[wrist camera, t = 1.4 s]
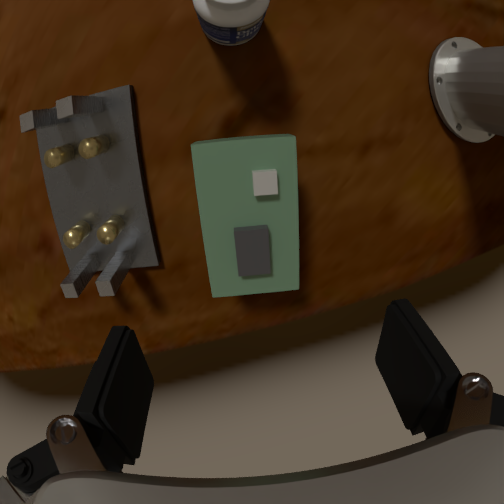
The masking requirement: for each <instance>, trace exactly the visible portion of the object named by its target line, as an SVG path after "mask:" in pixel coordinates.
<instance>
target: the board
mask: <svg viewBox="0 0 504 504" xmlns="http://www.w3.org/2000/svg"><path fill="white" fill-rule="evenodd" d="M191 151H192V159H193V167H194V176H195V183H196V191H197V199H198V206H199V213H200V220H201V227H202V234H203V241H204V247H205V254H206V260H207V266H208V273H209V279H210V285H211V291H212V296H213V297H225V296H236V295H248V294H258V293H269V292H279V291H289V290H298V289H299V216H298V180H297V154H296V136H294V135H291V134H275V135H259V136H246V137H234V138H224V139H214V140H205V141H197V142H194V143H193V144H192V145H191Z"/></svg>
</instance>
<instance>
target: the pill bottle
mask: <svg viewBox="0 0 504 504" xmlns="http://www.w3.org/2000/svg"><path fill="white" fill-rule="evenodd" d="M269 1H270V0H193V4H194V8H195V11H196V13H197V16H198V19H199V21H200V24H201V27H202V29H203V31H204V33H205V34H206V36H207V37H208V38H210V39H211V40H212V41H214V42H216V43H219V44H222V45H239V44H243V43H245V42H247V41H249V40H251V39H252V38H253V37H254V36H255V35H256V34H257V33H258V31H259V29H260V27H261V25H262V22H263V19H264V17H265V14H266V11H267V8H268V5H269Z"/></svg>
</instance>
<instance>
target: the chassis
mask: <svg viewBox="0 0 504 504" xmlns="http://www.w3.org/2000/svg"><path fill="white" fill-rule="evenodd" d="M20 124H21V133H23V132H28V131H33V130H36V131H37V138H38V145H39V151H40V157H41V163H42V168H43V174H44V179H45V183H46V188H47V192H48V197H49V201H50V205H51V209H52V213H53V217H54V221H55V224H56V228H57V231H58V235H59V238H60V242H61V245H62V248H63V251H64V254H65V257H66V260H67V263H68V266H69V269H70V273H69V274H68V276H67V277H66V278H65V279H64V280H63V282H62V283H61V284H60V285H61V287H62V290H63V292H64V295H65V297H66V298H75V297H79V295H80V294H81V292H82V291H83V290H84V288H85V287H86V285H87V284H88V282H89V281H90V280H91V278H92V277H93V276H94V274H95V273H96V271H101V270H103V271H102V273H101V274H100V276H99V277H98V278H97V280H96V281H95V283H96V286H97V289H98V291H99V294H100V296H115V294H116V292H117V290H118V289H119V287H120V285H121V283H122V282H123V280H124V278H125V276H126V275H127V273H128V271H129V269H130V268H137V267H148V266H159V263H160V256H159V252H158V247H157V243H156V238H155V233H154V228H153V223H152V218H151V213H150V208H149V202H148V197H147V191H146V185H145V179H144V173H143V167H142V160H141V153H140V146H139V139H138V131H137V123H136V114H135V105H134V95H133V86H132V85H126V86H122V87H118V88H114V89H111V90H107V91H103V92H100V93H96V94H93V95H89V96H69V97H66V98H63V99H60V100H57V101H56V107H54V108H51V109H41V110H32V111H30V112H27V113H25V114H23V115H20Z"/></svg>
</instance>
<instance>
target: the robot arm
mask: <svg viewBox="0 0 504 504" xmlns="http://www.w3.org/2000/svg"><path fill="white" fill-rule="evenodd" d="M429 84H430V90H431V95H432V98H433V102H434V105H435V107H436V109H437V111H438V114H439V116H440V117H441V119H442V120H443V122H444V124H445V125H446V126H447V127H448V128H449V130H450V131H451V132H453V133H454V134H455V135H456V136H458V137H459V138H461V139H463V140H466V141H469V142H474V143H481V142H485V141H487V140H490V139H491V138H492V137H493V136H494V135H495V134H496V135H500V136H504V46H500V47H487V48H482V47H481V46H480V45H479V44H477V43H476V42H474V41H472V40H470V39H467V38H463V37H455V38H450V39H447V40H445V41H443V42H442V43H440V44H439V45H438V46H437V48H436V49H435V51H434V53H433V55H432V58H431V61H430V68H429ZM375 361H376V365H377V366H378V369H379V371H380V373H381V375H382V377H383V379H384V381H385V383H386V386H387V388H388V390H389V392H390V394H391V397H392V399H393V401H394V403H395V405H396V408H397V410H398V412H399V414H400V417H401V419H402V421H403V423H404V426H405V428H406V429H408V430H409V429H410V431H411V433H412V435H416V434H418V433H421V432H424V433H425V435H426V439H425V440H424V441H421V442H419V443H415V444H412V445H410V446H406V447H403V448H400V449H397V450H393V451H390V452H387V453H383V454H380V455H376V456H373V457H369V458H365V459H361V460H357V461H353V462H349V463H344V464H340V465H335V466H330V467H324V468H319V469H314V470H308V471H301V472H294V473H286V474H278V475H267V476H257V477H239V478H177V477H160V476H146V475H137V474H127V473H123V472H122V468H123V464H129V465H134V464H135V459H136V458H139V457H140V452H141V447H142V442H143V436H144V431H145V426H146V421H147V416H148V411H149V406H150V401H151V397H152V392H153V387H154V380H153V377H152V374H151V372H150V370H149V367H148V365H147V362H146V360H145V357H144V355H143V352H142V350H141V347H140V345H139V342H138V340H137V337H136V334H135V332H134V330H130V328H129V327H128V326H113V327H112V328H111V330H110V333H109V335H108V337H107V339H106V341H105V344H104V346H103V348H102V350H101V353H100V355H99V357H98V360H97V361H96V362H95V363H94V365H93V367H92V370H91V372H90V375H89V377H88V379H87V382H86V384H85V387H84V389H83V392H82V394H81V397H80V400H79V402H78V404H77V407H76V410H75V412H74V415H73V416H72V415H61V416H58V417H56V418H55V419H53V420H52V421H51V422H50V424H49V425H48V427H47V430H46V438H47V439H45V440H44V441H42V442H40V443H38V444H36V445H35V446H33V447H31V448H29V449H27V450H26V451H24V452H22V453H20V454H18V455H16V456H15V457H13V458H12V459H11V460H10V462H9V463H8V466H7V477H6V478H5V477H4V476H2V477H1V478H0V504H504V396H502V395H499V394H496V393H493V387H492V385H491V382H490V381H489V380H488V379H487V378H486V377H485V376H483V375H481V374H479V373H467V374H466V375H463V376H462V375H461V373H460V371H459V369H458V368H457V366H456V365H455V363H454V362H453V360H452V359H451V358H450V356H449V355H448V353H447V352H446V350H445V349H444V348H443V346H442V345H441V344H440V342H439V341H438V339H437V338H436V336H435V335H434V334H433V332H432V331H431V330H430V328H429V327H428V326H427V324H426V323H425V321H424V320H423V319H422V318H421V316H420V315H419V314H418V312H417V311H416V310H415V308H414V307H413V306H412V304H411V303H410V302H409V301H408V300H407V299H400V300H394V301H392V302H391V304H390V305H388V306H387V309H386V314H385V319H384V323H383V327H382V332H381V336H380V340H379V344H378V348H377V352H376V356H375Z"/></svg>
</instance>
